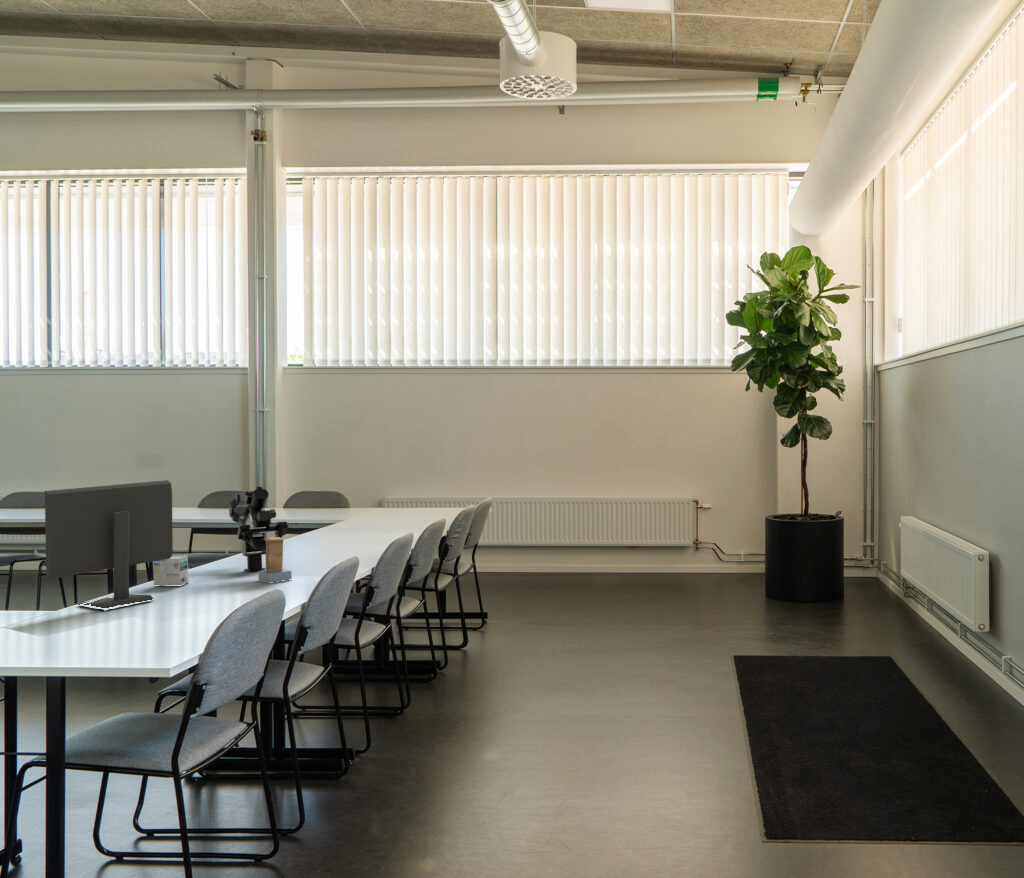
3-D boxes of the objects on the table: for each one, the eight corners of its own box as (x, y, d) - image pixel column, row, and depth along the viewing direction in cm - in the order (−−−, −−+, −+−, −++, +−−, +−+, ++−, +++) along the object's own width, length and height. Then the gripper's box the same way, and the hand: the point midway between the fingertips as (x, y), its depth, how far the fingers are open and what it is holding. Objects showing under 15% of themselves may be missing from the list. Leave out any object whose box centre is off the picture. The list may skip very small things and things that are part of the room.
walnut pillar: (265, 569, 340) (266, 537, 339) (278, 568, 342) (279, 537, 341) (268, 572, 335) (269, 540, 334) (282, 571, 338) (283, 539, 337)
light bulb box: (189, 583, 337) (188, 555, 337) (181, 587, 330) (179, 558, 330) (162, 583, 338) (160, 555, 338) (153, 587, 331) (151, 558, 331)
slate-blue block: (258, 581, 340) (258, 571, 339) (280, 578, 345) (280, 567, 345) (269, 584, 333) (268, 574, 333) (291, 581, 338) (291, 570, 338)
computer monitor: (159, 590, 325) (155, 479, 324) (187, 594, 316) (182, 480, 314) (38, 614, 290) (32, 490, 288) (64, 620, 280) (59, 491, 279)
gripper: (238, 504, 344) (247, 536, 335) (286, 500, 354) (296, 531, 345) (233, 523, 351) (242, 554, 342) (280, 519, 361) (290, 549, 352)
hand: (268, 547), depth 345 cm, fingers open, 9 cm apart
